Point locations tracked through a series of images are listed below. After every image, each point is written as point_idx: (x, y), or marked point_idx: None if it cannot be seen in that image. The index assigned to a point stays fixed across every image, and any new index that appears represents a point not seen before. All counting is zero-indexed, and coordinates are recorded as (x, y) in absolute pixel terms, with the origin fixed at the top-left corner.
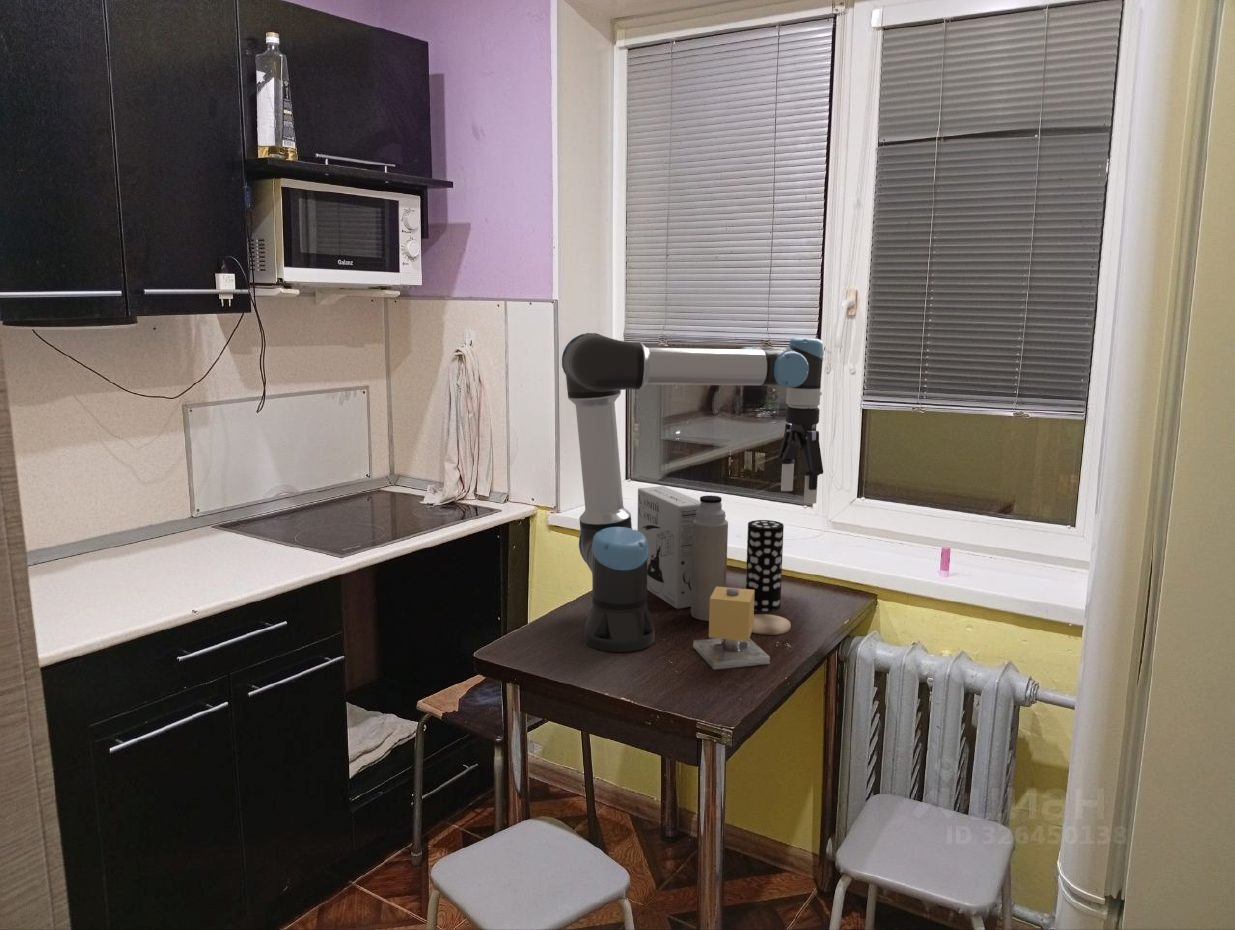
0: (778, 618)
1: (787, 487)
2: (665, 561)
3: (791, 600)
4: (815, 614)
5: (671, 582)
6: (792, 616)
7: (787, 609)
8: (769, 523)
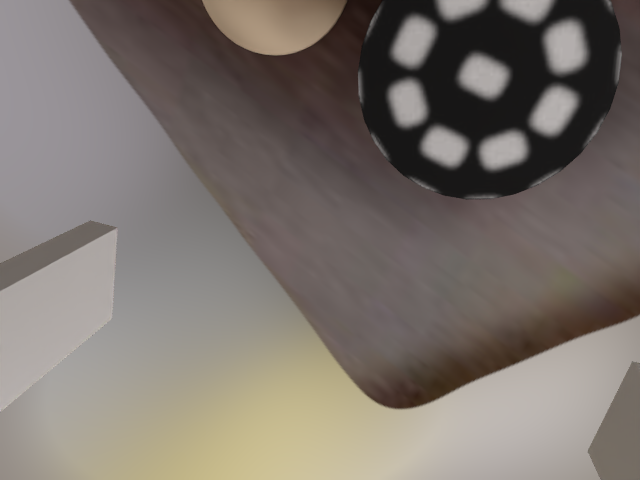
0: (289, 34)
1: (621, 430)
2: None
3: None
4: (305, 182)
5: None
6: (317, 107)
7: None
8: (487, 114)
